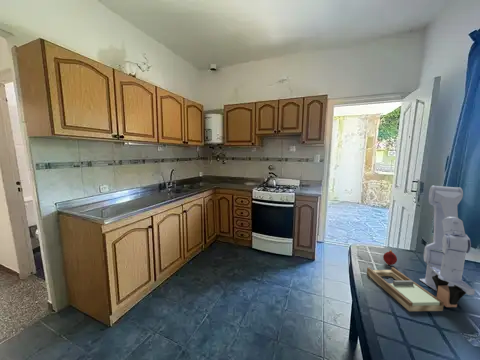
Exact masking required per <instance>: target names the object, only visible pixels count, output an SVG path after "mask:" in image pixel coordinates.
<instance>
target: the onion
mask: <svg viewBox="0 0 480 360" xmlns="http://www.w3.org/2000/svg"><path fill="white" fill-rule="evenodd" d="M382 257H383V262H385V264H386V265H388V266H392V265H395V264H396V263H397V262H398V258H397V255H396V254H395V253H394V252H393V250H391V249H389V251H387V252H385V253H384V254H383V256H382Z"/></svg>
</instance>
